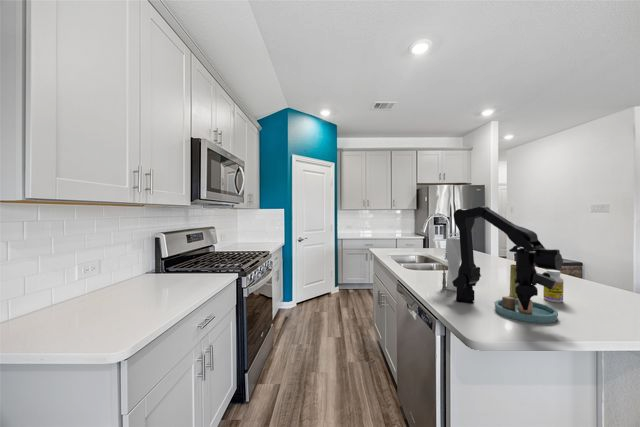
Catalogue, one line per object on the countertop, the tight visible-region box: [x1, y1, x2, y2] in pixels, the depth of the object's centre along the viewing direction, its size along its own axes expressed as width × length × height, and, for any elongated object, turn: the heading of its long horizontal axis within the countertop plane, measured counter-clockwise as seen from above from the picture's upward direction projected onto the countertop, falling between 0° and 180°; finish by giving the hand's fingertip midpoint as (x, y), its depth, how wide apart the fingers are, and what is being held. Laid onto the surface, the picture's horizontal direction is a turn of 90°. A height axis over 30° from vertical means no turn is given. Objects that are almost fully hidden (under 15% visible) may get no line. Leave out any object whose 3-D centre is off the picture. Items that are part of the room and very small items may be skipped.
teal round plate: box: [494, 298, 559, 324], centre depth 110 cm, size 19×19×2 cm
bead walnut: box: [501, 296, 516, 312], centre depth 112 cm, size 4×4×4 cm
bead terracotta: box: [518, 299, 534, 315], centre depth 106 cm, size 4×4×4 cm
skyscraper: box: [441, 232, 461, 293], centre depth 144 cm, size 8×8×28 cm
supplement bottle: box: [543, 269, 564, 303], centre depth 125 cm, size 7×7×13 cm
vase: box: [508, 263, 519, 299], centre depth 131 cm, size 6×6×14 cm
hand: (525, 308), depth 106 cm, fingers closed on bead terracotta, 4 cm apart
